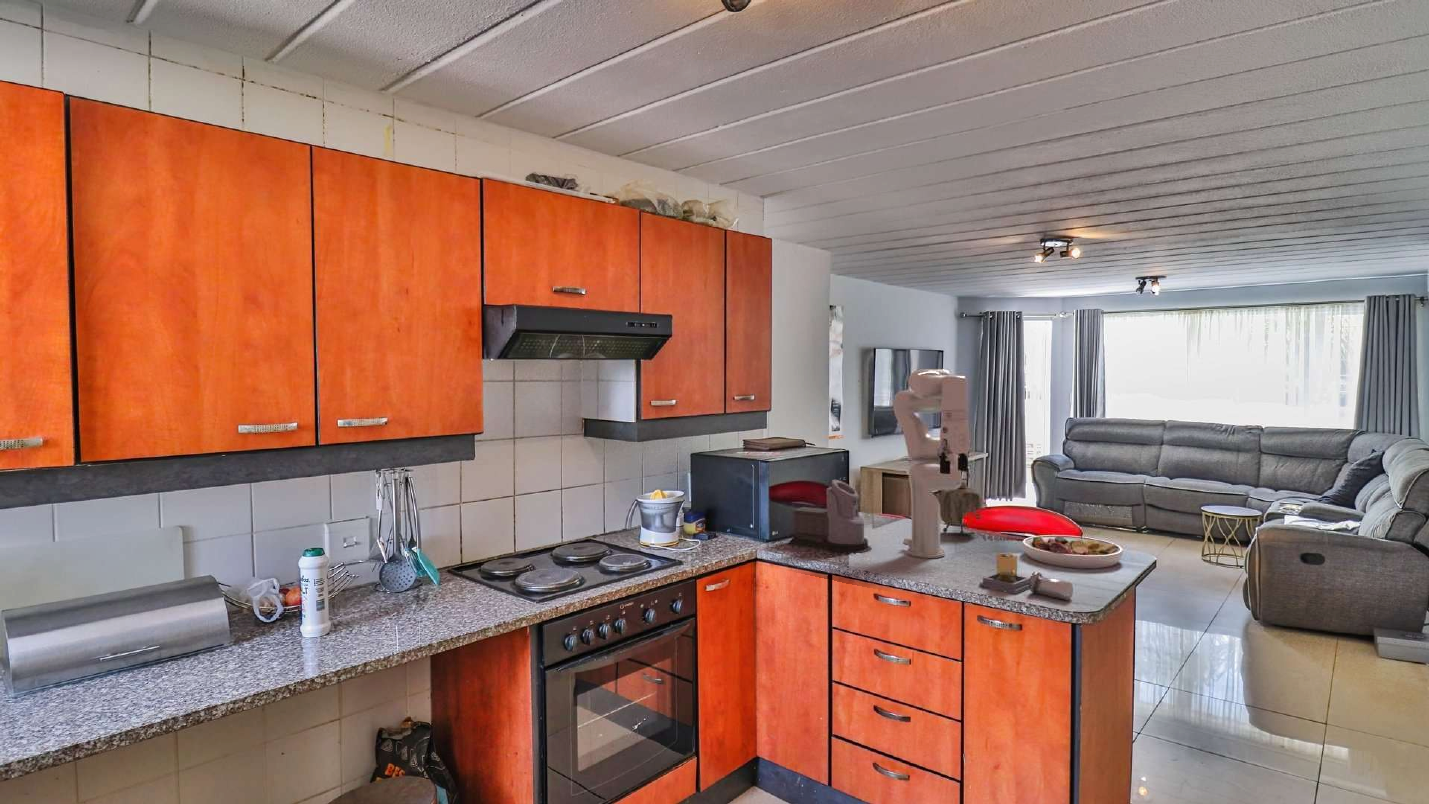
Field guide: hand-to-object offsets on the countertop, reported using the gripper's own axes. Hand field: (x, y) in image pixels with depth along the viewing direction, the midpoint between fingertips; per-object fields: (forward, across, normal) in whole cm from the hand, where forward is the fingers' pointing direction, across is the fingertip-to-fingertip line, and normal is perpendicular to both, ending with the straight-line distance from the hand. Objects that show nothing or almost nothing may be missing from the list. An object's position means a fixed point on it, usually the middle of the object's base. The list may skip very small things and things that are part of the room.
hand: (954, 472), depth 227 cm
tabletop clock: (+32, +55, +31) cm, 71 cm away
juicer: (+33, +4, +53) cm, 62 cm away
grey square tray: (+32, +2, -16) cm, 36 cm away
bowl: (+33, +48, -14) cm, 60 cm away
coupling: (+31, +2, -16) cm, 35 cm away
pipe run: (+32, +2, -29) cm, 43 cm away
